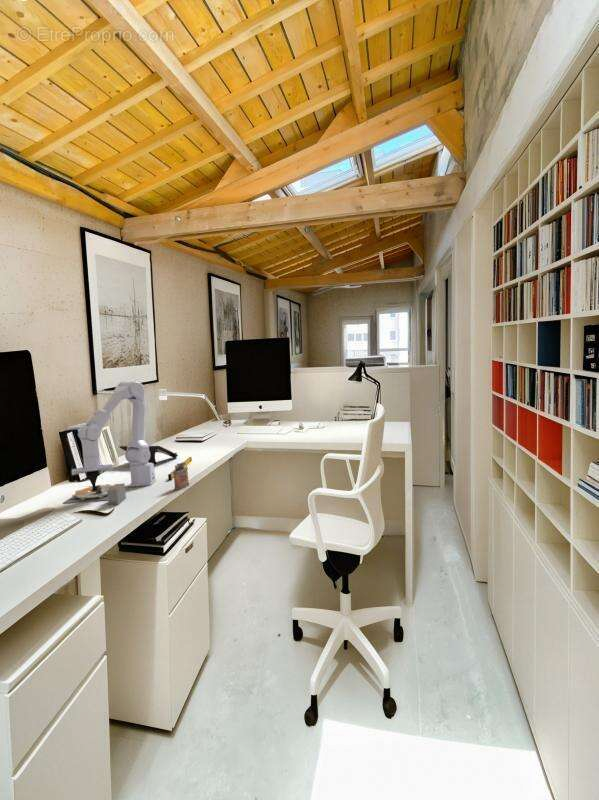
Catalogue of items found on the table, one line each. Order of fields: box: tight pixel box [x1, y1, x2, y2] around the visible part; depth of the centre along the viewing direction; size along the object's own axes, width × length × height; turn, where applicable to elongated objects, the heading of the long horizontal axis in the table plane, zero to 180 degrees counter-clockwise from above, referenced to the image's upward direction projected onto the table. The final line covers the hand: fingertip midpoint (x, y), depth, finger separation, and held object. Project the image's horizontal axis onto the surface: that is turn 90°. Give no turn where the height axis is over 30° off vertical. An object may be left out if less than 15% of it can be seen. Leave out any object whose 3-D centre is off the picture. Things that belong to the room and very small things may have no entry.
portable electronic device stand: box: [118, 445, 179, 464], centre depth 237 cm, size 23×23×9 cm
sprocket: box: [71, 483, 114, 500], centre depth 183 cm, size 17×17×4 cm
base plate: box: [62, 485, 128, 505], centre depth 184 cm, size 18×18×1 cm
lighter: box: [172, 461, 190, 491], centre depth 186 cm, size 8×3×10 cm, turn 160°
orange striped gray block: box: [107, 483, 127, 507], centre depth 172 cm, size 4×8×6 cm, turn 1°
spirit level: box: [167, 456, 193, 481], centre depth 215 cm, size 33×1×3 cm, turn 178°
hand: (94, 490), depth 178 cm, fingers closed, pressing on sprocket
